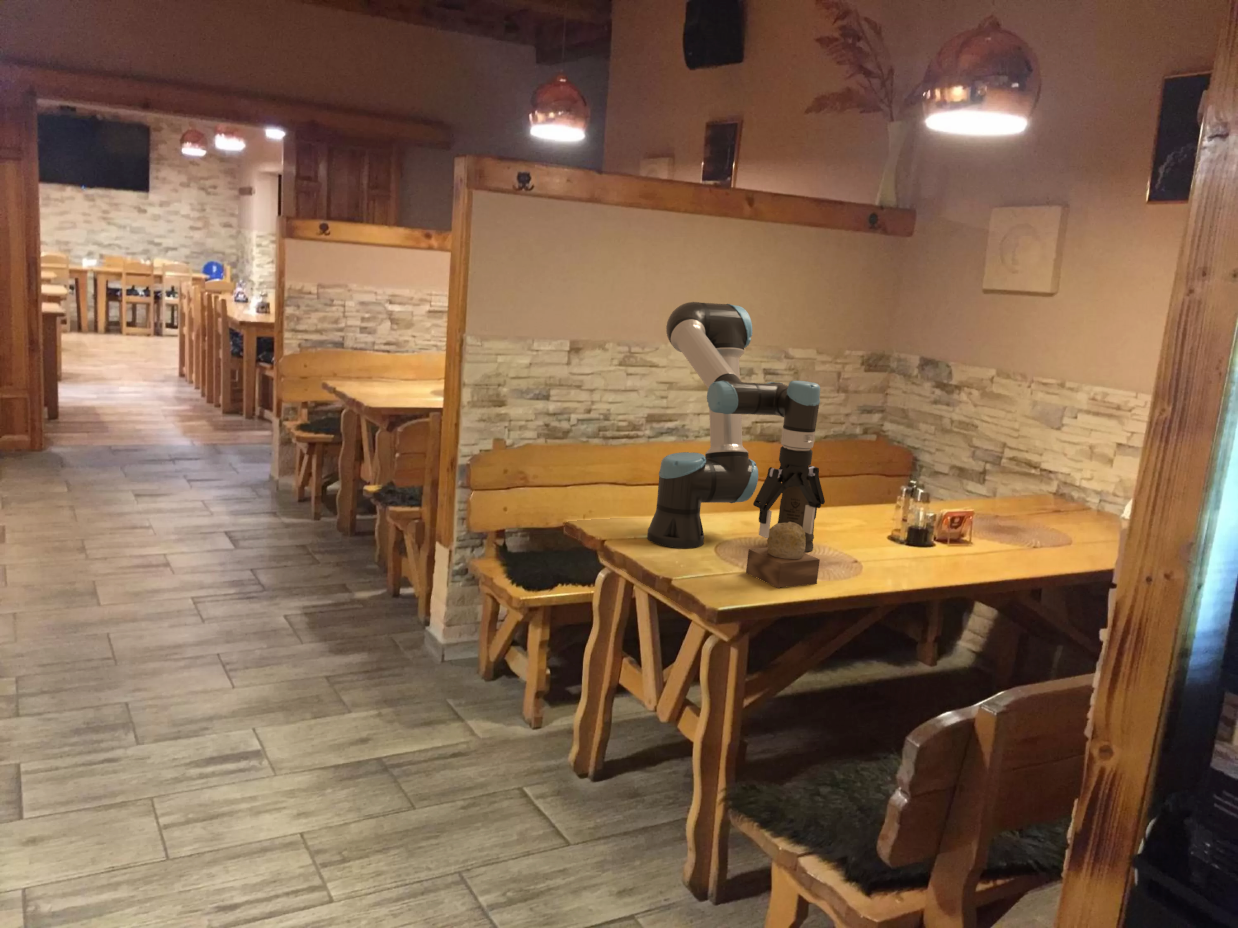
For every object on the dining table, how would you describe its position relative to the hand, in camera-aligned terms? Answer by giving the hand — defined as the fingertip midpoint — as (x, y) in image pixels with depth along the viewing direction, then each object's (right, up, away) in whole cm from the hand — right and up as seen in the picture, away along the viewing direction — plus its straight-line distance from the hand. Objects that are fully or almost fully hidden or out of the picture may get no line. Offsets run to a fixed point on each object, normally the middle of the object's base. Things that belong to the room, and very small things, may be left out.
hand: (785, 534), depth 233 cm
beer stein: (+8, -5, +33) cm, 35 cm away
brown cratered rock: (0, -5, +1) cm, 5 cm away
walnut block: (-1, -11, +2) cm, 11 cm away
